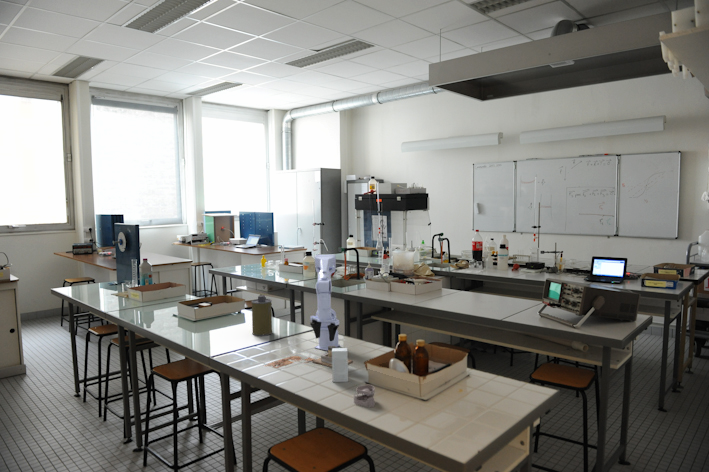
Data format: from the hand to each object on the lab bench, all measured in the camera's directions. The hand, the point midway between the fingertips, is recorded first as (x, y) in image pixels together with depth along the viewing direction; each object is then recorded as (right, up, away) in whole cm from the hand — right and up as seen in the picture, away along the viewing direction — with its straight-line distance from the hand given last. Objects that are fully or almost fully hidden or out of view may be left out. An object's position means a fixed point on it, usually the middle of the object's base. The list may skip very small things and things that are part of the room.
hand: (324, 339), depth 202 cm
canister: (-36, -7, +45) cm, 58 cm away
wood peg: (+3, -9, -2) cm, 10 cm away
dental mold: (+17, -12, -43) cm, 48 cm away
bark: (-15, -10, -2) cm, 19 cm away
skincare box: (+7, -11, -22) cm, 26 cm away
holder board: (+3, -9, -2) cm, 10 cm away
